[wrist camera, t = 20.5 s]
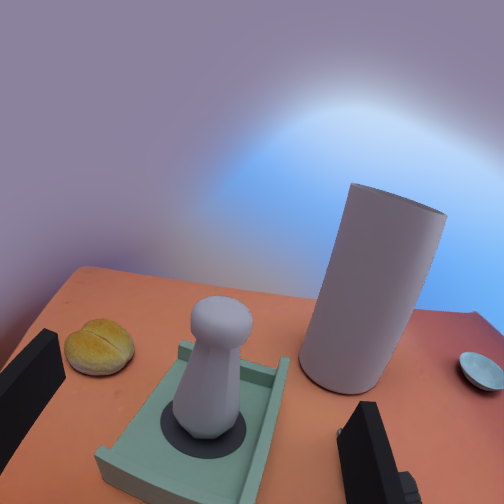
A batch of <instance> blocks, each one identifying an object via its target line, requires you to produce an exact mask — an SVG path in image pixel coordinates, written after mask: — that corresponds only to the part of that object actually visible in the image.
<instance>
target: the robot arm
mask: <svg viewBox="0 0 504 504" xmlns="http://www.w3.org/2000/svg"><path fill="white" fill-rule="evenodd" d="M65 379H66V376H65V371H64V366H63V362H62V357H61V351H60V346H59V340H58V334H57V333H55V332H53V331H50V330H48V329H45V328H44V329H43V330H42V331H41V332H40V333H39V334H38V335H37V336H36V337H35V338H34V339H33V340H32V341H31V342H30V343H29V344H28V345H27V346H26V347H25V348H24V349H23V350H22V351H21V352H20V353H19V354H18V355H17V356H16V357H15V358H14V359H13V360H12V361H11V362H10V363H9V365H8V366H7V367H6V368H5V369H4V370H3V371H2V372H1V373H0V475H1V473H2V472H3V470H4V468H5V467H6V465H7V463H8V462H9V460H10V459H11V457H12V456H13V454H14V452H15V451H16V449H17V448H18V446H19V445H20V443H21V442H22V440H23V439H24V437H25V436H26V434H27V433H28V431H29V430H30V428H31V427H32V425H33V424H34V422H35V421H36V419H37V418H38V416H39V415H40V414H41V412H42V411H43V409H44V408H45V406H46V405H47V404H48V402H49V401H50V399H51V398H52V397H53V395H54V394H55V392H56V391H57V390H58V388H59V387H60V386H61V384H62V383H63V381H64V380H65ZM336 440H337V445H338V451H339V457H340V463H341V469H342V475H343V482H344V488H345V495H346V501H347V504H422V502H421V497H420V494H419V493H418V488H417V484H416V481H415V480H414V478H413V477H412V476H411V474H410V473H409V472H408V471H407V472H398V470H397V467H396V463H395V460H394V457H393V453H392V450H391V447H390V444H389V441H388V437H387V434H386V431H385V428H384V425H383V422H382V419H381V416H380V413H379V410H378V407H377V404H376V402H368V401H360V402H359V404H358V406H357V407H356V409H355V411H354V412H353V414H352V415H351V417H350V419H349V420H348V422H347V423H346V425H345V427H344V428H343V430H342V431H341V433H340V434H339V436H338V437H337V439H336Z"/></svg>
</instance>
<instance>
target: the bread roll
mask: <svg viewBox="0 0 504 504" xmlns="http://www.w3.org/2000/svg"><path fill="white" fill-rule="evenodd" d="M64 350H65V354H66V357H67V359H68V361H69V362H70V364H71V365H72V367H73V368H75V369H76V370H78V371H79V372H82V373H85V374H88V375H110V374H113V373H115V372H117V371H119V370H120V369H122V368H123V367H124V365H125V364H126V362H128V361H129V360H130V359H131V357H132V356H133V353H134V342H133V340H132V338H131V336H130V334H129V333H128V332H127V331H126V330H125V329H124V328H123V327H122V326H121V325H119V324H118V323H116V322H114V321H111V320H108V319H95V320H92V321H89V322H87V323H86V324H85V325H84V326H83V327H82V329H81V331H78V332H74V333H72V334H71V335H69V336H68V338H67V339H66V341H65V346H64Z"/></svg>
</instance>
